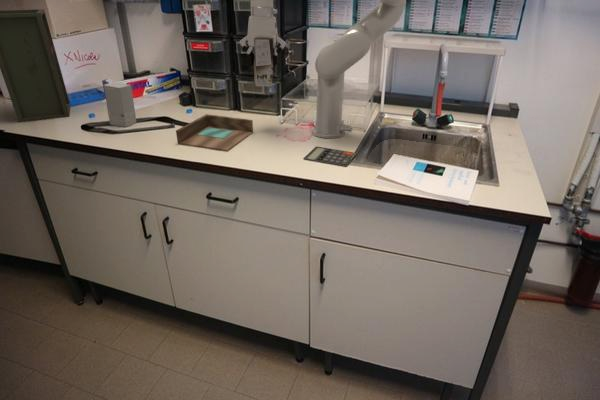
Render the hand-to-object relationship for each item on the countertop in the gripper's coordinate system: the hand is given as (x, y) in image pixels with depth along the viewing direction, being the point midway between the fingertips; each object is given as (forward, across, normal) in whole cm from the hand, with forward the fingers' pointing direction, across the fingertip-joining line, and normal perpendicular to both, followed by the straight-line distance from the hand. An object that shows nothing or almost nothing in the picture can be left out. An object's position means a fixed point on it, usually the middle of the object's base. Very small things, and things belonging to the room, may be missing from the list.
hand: (263, 65), depth 148 cm
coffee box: (+7, 0, 0) cm, 7 cm away
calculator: (+24, -28, +22) cm, 43 cm away
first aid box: (+26, +98, -5) cm, 101 cm away
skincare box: (+26, +57, +2) cm, 63 cm away
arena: (+25, +15, +12) cm, 31 cm away
